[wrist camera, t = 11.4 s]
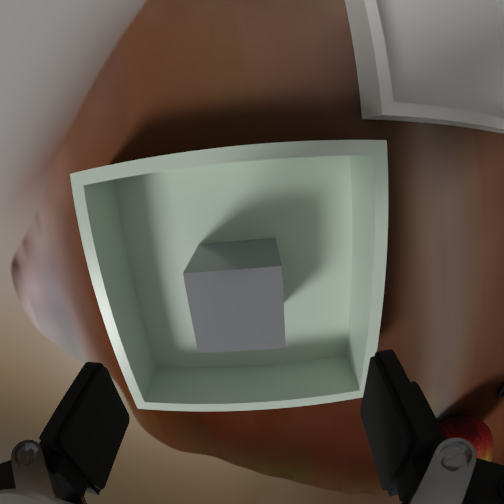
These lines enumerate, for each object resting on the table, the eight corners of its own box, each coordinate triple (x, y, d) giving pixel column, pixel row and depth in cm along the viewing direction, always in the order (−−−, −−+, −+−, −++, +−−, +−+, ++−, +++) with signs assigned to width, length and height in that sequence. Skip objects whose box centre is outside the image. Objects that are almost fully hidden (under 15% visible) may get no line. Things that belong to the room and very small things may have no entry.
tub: (328, -62, 13) (338, -85, 10) (485, -19, 13) (505, -29, 9) (362, 119, 18) (381, 114, 15) (517, 136, 18) (544, 138, 15)
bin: (107, 166, 19) (70, 173, 15) (356, 141, 19) (386, 140, 14) (153, 368, 25) (137, 408, 20) (352, 356, 24) (368, 396, 20)
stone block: (198, 243, 20) (183, 273, 16) (275, 238, 20) (281, 265, 16) (209, 310, 22) (198, 352, 17) (279, 306, 22) (285, 347, 17)
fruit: (487, 405, 28) (520, 454, 19) (437, 457, 31) (459, 506, 22) (444, 398, 27) (482, 461, 17) (388, 456, 30) (409, 517, 21)
